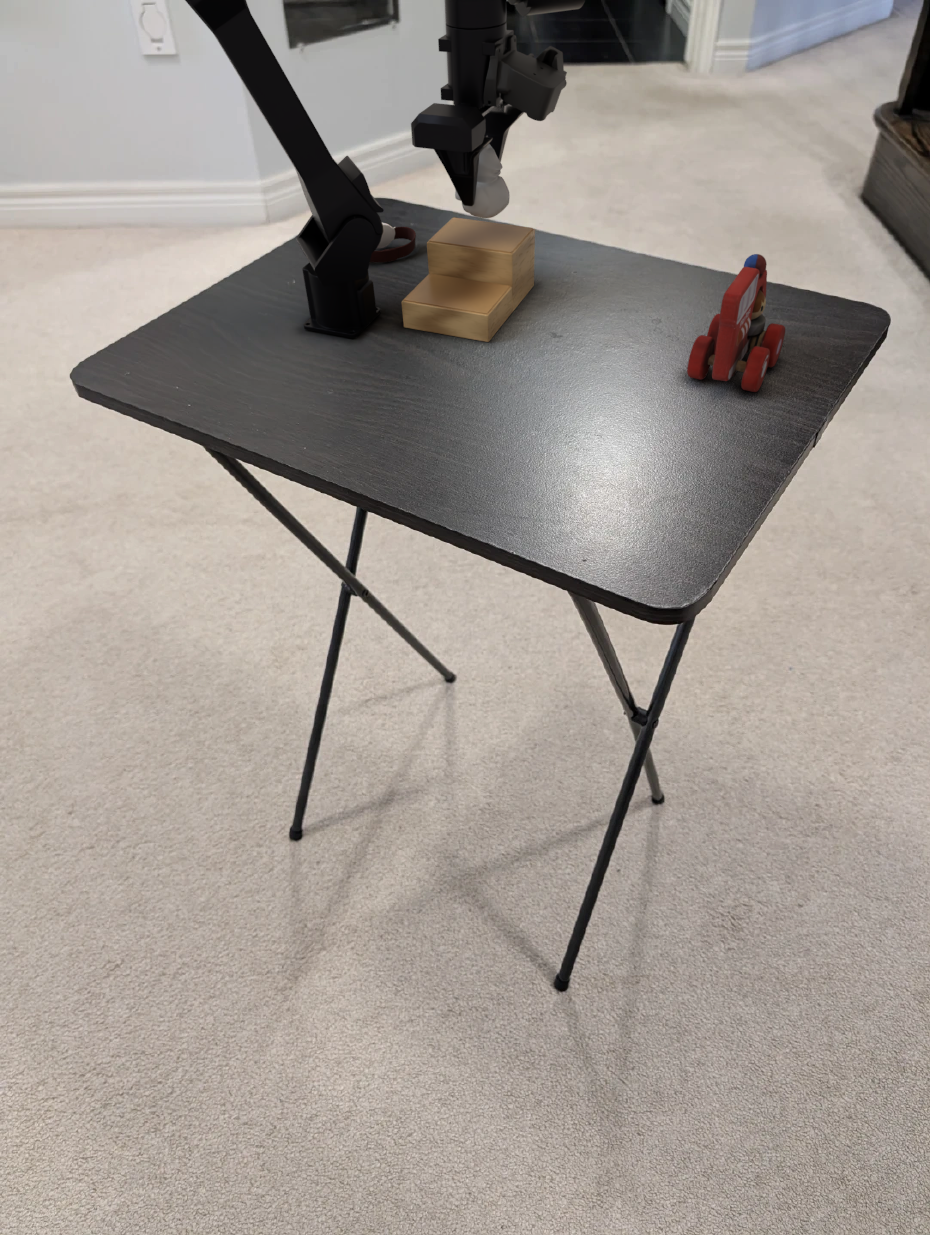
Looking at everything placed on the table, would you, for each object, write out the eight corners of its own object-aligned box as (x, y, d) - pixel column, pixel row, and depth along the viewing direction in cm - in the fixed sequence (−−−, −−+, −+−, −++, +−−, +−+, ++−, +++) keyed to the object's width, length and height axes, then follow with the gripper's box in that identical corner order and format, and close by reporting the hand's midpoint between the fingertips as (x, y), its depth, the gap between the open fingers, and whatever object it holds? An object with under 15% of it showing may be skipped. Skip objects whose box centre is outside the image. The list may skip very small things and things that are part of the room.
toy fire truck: (785, 348, 91) (810, 246, 83) (749, 408, 83) (772, 302, 76) (719, 334, 93) (737, 234, 86) (678, 391, 86) (693, 287, 78)
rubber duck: (495, 229, 93) (494, 146, 87) (441, 218, 95) (437, 137, 90) (519, 211, 96) (520, 130, 90) (467, 200, 98) (464, 121, 93)
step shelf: (403, 327, 97) (397, 267, 92) (455, 273, 106) (452, 216, 101) (488, 342, 94) (487, 281, 89) (534, 285, 103) (535, 227, 98)
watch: (408, 241, 112) (406, 212, 110) (423, 255, 109) (421, 225, 107) (351, 255, 110) (347, 225, 108) (365, 269, 107) (361, 239, 105)
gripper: (521, 54, 75) (519, 240, 86) (589, 4, 87) (579, 173, 98) (402, 45, 78) (415, 225, 89) (483, -2, 90) (485, 162, 101)
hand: (479, 195), depth 94 cm, fingers closed on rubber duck, 5 cm apart
